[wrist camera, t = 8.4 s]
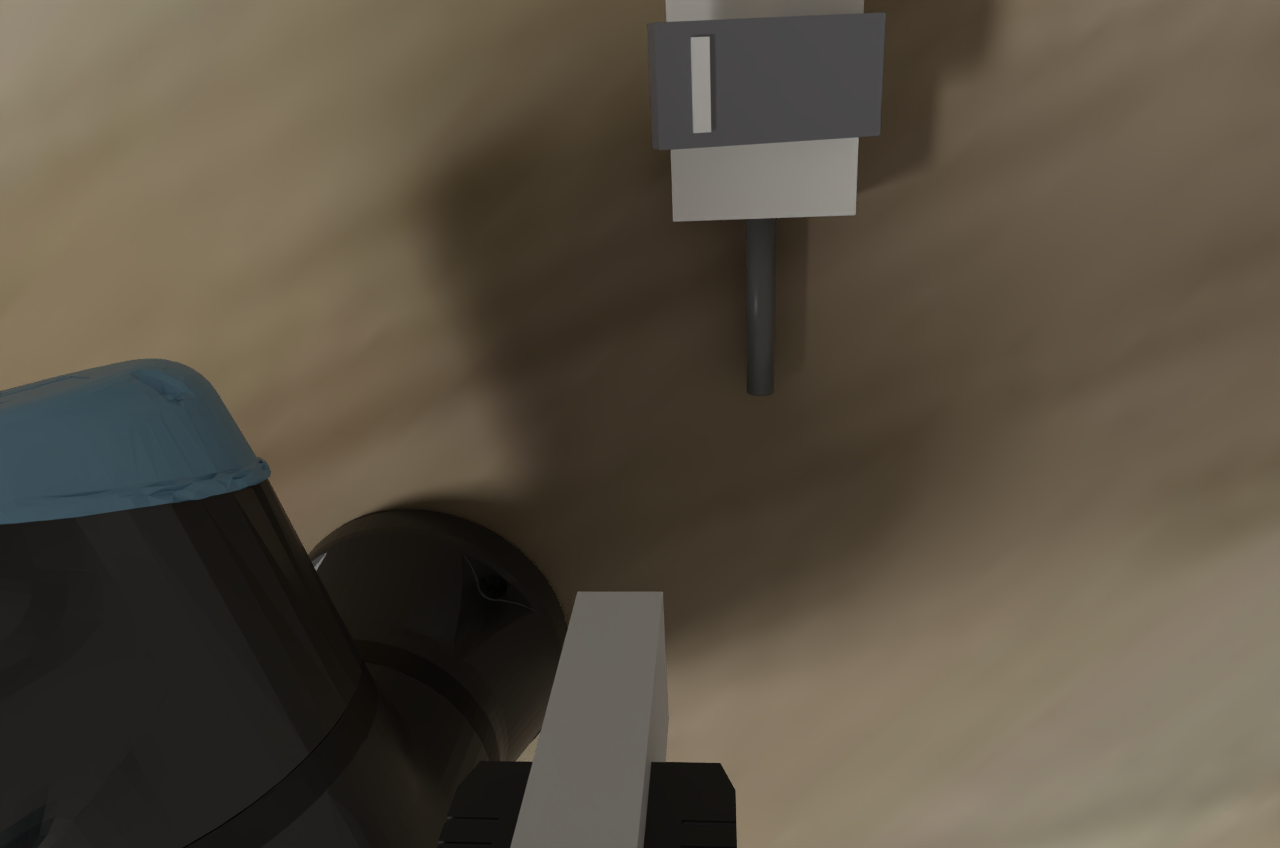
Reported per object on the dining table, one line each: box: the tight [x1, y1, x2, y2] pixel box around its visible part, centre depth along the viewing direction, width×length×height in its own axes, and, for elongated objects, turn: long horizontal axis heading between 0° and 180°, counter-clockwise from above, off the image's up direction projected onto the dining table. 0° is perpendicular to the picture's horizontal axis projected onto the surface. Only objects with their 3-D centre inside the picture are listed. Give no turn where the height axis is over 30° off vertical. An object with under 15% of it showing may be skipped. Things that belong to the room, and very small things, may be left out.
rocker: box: [647, 12, 886, 150], centre depth 31 cm, size 8×4×1 cm, turn 93°
